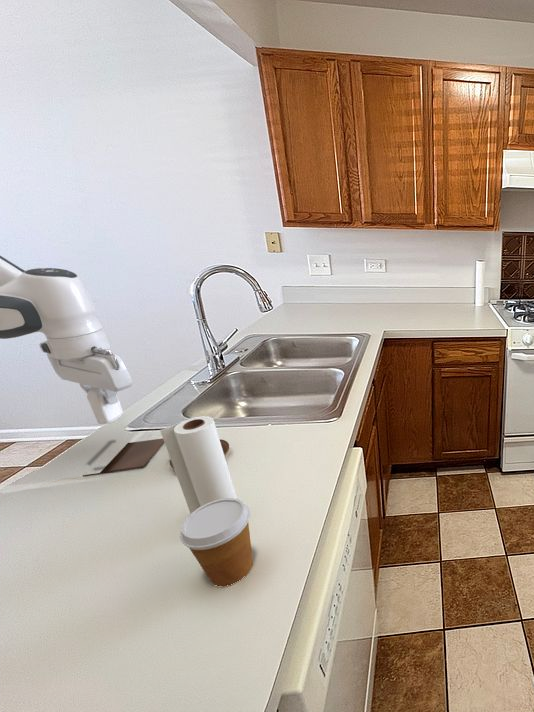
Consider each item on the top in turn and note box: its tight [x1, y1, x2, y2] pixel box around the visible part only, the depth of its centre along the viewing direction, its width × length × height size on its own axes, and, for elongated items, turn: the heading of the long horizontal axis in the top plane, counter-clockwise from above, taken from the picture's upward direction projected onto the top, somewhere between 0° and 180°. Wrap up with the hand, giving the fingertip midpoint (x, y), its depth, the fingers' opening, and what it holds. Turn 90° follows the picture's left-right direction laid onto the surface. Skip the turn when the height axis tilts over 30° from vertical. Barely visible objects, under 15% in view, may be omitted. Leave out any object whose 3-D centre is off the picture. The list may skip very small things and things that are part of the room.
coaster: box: [82, 437, 165, 478], centre depth 97 cm, size 12×12×1 cm
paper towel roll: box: [159, 415, 238, 514], centre depth 75 cm, size 7×6×21 cm
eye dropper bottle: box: [86, 386, 124, 425], centre depth 90 cm, size 4×6×12 cm
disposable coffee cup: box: [179, 498, 254, 587], centre depth 65 cm, size 10×10×12 cm
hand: (104, 401), depth 91 cm, fingers closed on eye dropper bottle, 4 cm apart
